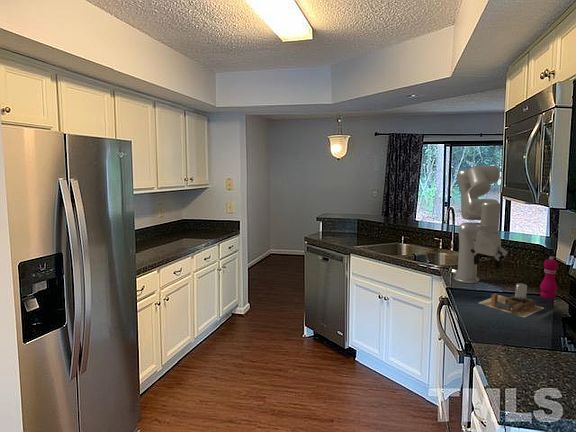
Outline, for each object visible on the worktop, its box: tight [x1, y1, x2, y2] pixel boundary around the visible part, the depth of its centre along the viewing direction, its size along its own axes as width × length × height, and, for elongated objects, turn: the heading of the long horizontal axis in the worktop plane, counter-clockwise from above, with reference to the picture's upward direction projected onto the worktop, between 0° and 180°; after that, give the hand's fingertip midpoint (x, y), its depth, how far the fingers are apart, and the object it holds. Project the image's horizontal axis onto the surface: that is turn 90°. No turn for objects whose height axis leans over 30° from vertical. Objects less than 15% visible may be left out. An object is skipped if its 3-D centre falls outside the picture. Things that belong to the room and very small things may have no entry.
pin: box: [490, 293, 511, 310], centre depth 193 cm, size 8×2×5 cm, turn 36°
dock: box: [478, 294, 545, 318], centre depth 197 cm, size 21×18×4 cm
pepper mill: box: [539, 256, 559, 300], centre depth 210 cm, size 7×7×20 cm
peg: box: [514, 282, 528, 304], centre depth 195 cm, size 4×4×10 cm
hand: (486, 266), depth 198 cm, fingers open, 9 cm apart
